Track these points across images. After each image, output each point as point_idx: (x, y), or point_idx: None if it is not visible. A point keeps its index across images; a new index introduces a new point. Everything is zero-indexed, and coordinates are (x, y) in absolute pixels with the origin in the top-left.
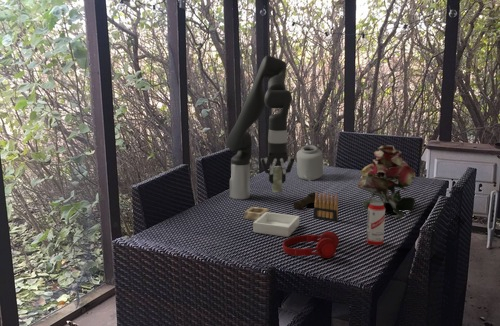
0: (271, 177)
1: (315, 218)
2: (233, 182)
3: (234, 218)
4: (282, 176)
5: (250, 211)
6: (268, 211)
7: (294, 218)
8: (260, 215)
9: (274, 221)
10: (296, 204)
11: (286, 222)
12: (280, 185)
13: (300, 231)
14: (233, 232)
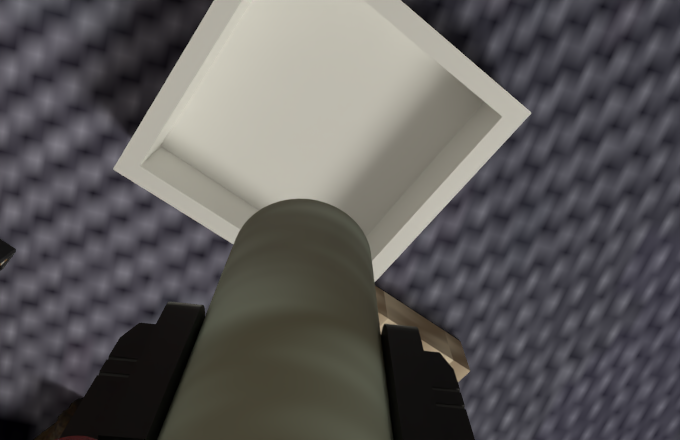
0: (432, 408)
1: (1, 241)
2: None
3: (514, 356)
4: (162, 396)
5: None
6: None
7: (160, 169)
8: (380, 308)
9: None
10: None
11: (225, 189)
12: (253, 258)
13: (159, 14)
14: (635, 127)
